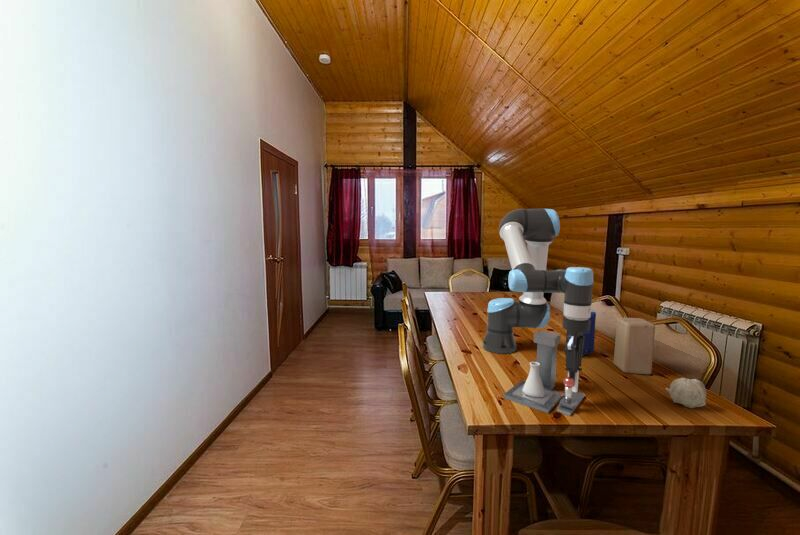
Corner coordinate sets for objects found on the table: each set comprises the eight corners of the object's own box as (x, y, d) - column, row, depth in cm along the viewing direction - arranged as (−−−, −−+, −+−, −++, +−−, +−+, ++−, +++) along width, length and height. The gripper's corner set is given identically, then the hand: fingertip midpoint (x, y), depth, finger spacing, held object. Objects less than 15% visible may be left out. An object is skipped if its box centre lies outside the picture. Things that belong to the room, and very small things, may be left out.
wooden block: (652, 375, 128) (656, 324, 126) (623, 373, 130) (627, 322, 128) (639, 365, 138) (643, 317, 136) (612, 363, 140) (615, 316, 138)
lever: (559, 405, 103) (560, 377, 102) (563, 400, 106) (564, 373, 105) (572, 409, 100) (573, 380, 100) (575, 404, 103) (577, 377, 102)
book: (572, 359, 144) (575, 313, 142) (562, 355, 149) (564, 311, 147) (595, 354, 150) (598, 310, 148) (584, 350, 155) (586, 308, 153)
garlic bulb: (701, 413, 105) (719, 388, 103) (691, 417, 101) (710, 390, 98) (668, 393, 113) (684, 368, 110) (658, 395, 108) (674, 369, 105)
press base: (503, 397, 110) (505, 341, 108) (528, 378, 125) (530, 328, 123) (566, 420, 97) (570, 356, 95) (585, 395, 112) (589, 339, 110)
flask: (546, 399, 106) (547, 369, 105) (521, 395, 108) (523, 366, 107) (544, 389, 112) (546, 361, 111) (521, 386, 115) (523, 358, 114)
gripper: (584, 323, 96) (579, 402, 99) (595, 315, 106) (590, 387, 108) (556, 319, 102) (552, 393, 104) (570, 311, 111) (566, 380, 113)
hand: (572, 390), depth 106 cm, fingers closed
